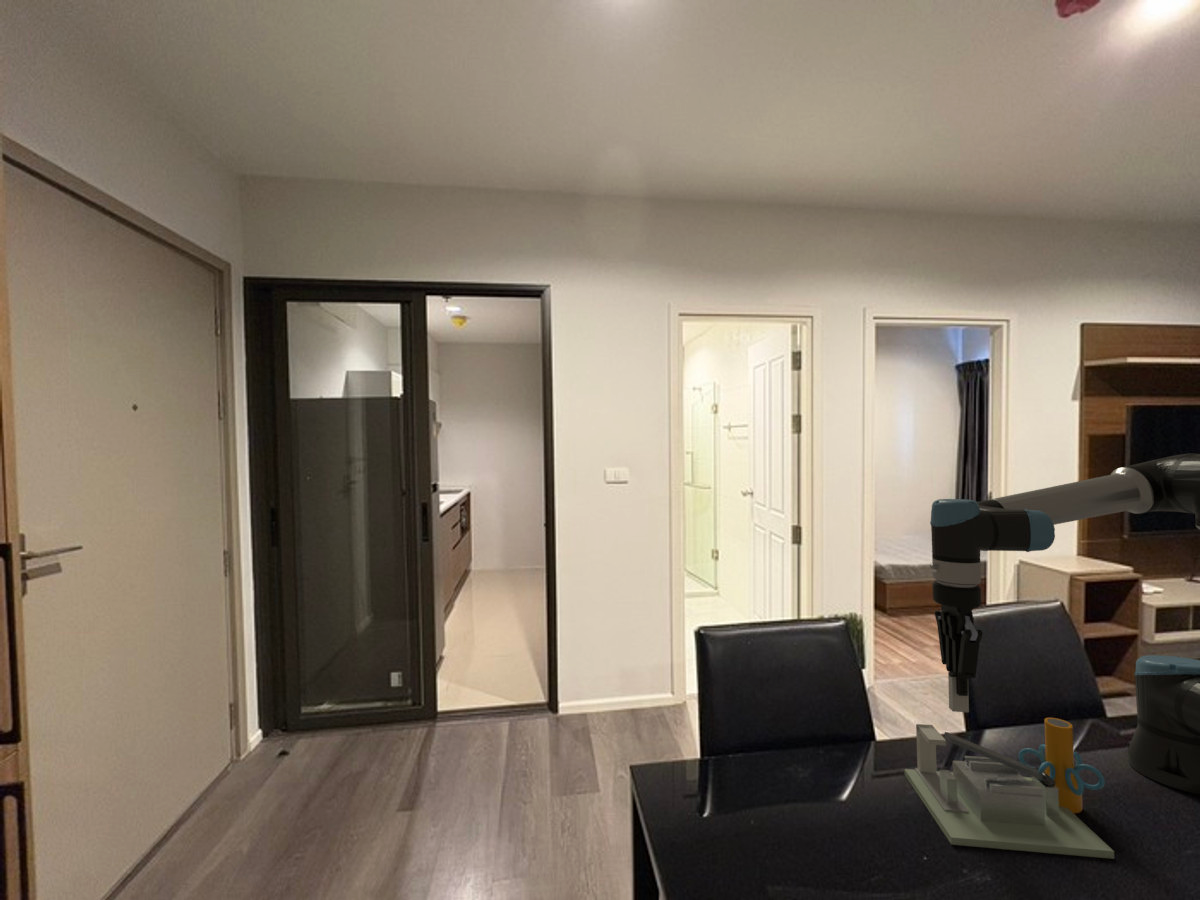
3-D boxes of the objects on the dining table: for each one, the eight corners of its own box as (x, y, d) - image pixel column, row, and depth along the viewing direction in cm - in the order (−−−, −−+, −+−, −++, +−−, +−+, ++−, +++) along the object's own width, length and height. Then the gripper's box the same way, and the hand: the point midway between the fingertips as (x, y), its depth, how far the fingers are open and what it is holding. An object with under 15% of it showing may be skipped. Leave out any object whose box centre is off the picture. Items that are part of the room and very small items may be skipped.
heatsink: (1034, 792, 102) (1033, 759, 102) (1071, 828, 92) (1069, 791, 92) (932, 784, 105) (931, 752, 105) (957, 819, 95) (956, 783, 95)
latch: (933, 768, 109) (932, 724, 109) (947, 786, 103) (945, 740, 103) (917, 767, 110) (916, 724, 110) (930, 785, 104) (929, 739, 104)
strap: (1039, 774, 99) (1041, 768, 99) (1054, 787, 95) (1056, 781, 95) (941, 734, 102) (943, 728, 102) (951, 745, 98) (954, 739, 98)
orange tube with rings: (1118, 829, 93) (1115, 742, 93) (1049, 822, 95) (1046, 737, 95) (1071, 786, 105) (1069, 709, 105) (1011, 781, 107) (1009, 705, 107)
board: (1035, 783, 106) (1035, 776, 106) (1114, 858, 86) (1113, 849, 86) (904, 774, 110) (904, 767, 110) (951, 844, 90) (951, 835, 90)
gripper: (919, 574, 107) (921, 693, 106) (950, 590, 94) (953, 726, 94) (960, 575, 106) (963, 695, 105) (998, 591, 93) (1001, 729, 92)
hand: (958, 709), depth 99 cm, fingers closed
